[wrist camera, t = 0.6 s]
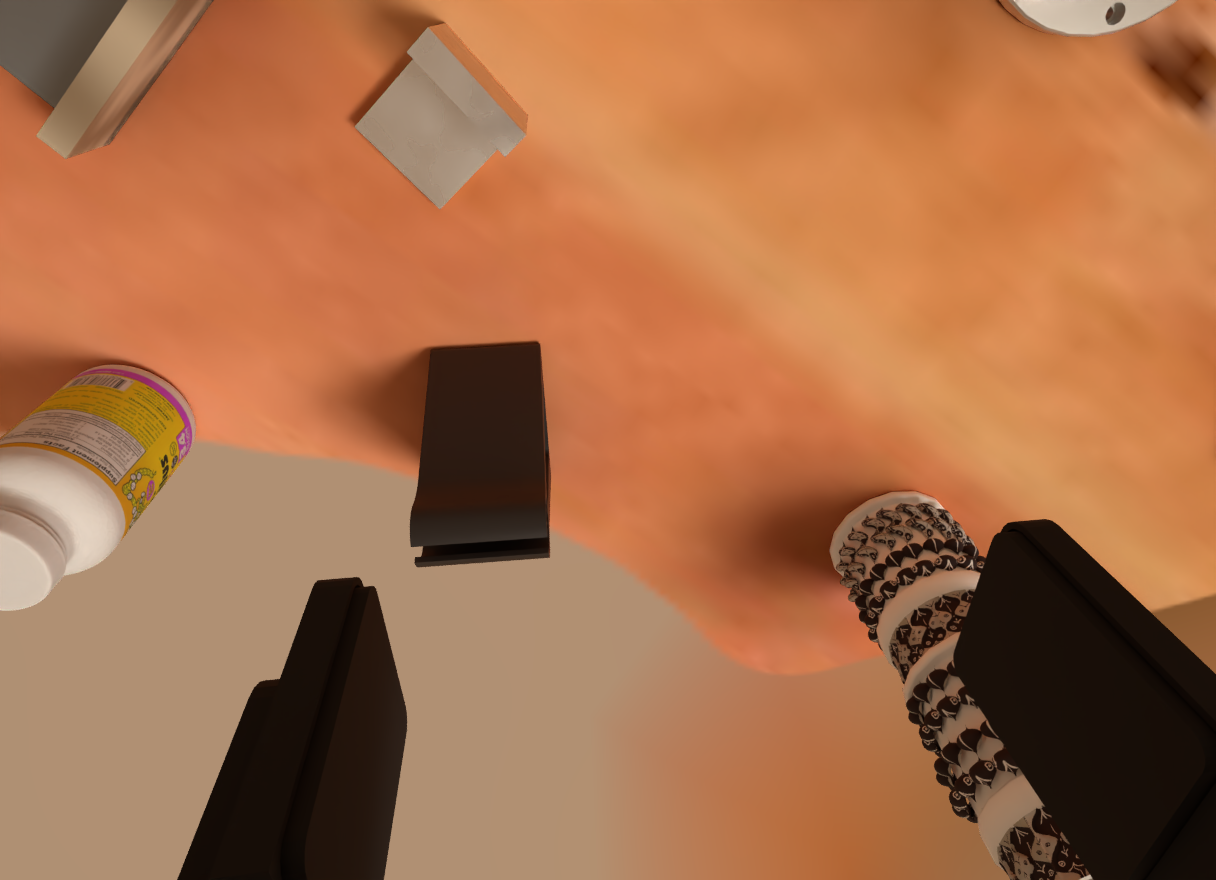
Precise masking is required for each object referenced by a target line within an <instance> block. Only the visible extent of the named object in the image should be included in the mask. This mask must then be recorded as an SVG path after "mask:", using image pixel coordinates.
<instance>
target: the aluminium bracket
mask: <svg viewBox="0 0 1216 880" xmlns="http://www.w3.org/2000/svg"><path fill="white" fill-rule="evenodd" d="M407 53H408V54H409V55H410V56H411V57H412V61H411V62H410V63H409V64H408V65H407V66H406V68H405V69H404V70H403V71H402V72H401V73H400V75H399V76H398V77H397V78H396V79H395V80H394V82H393V83H392V84H391V85H390V86H389V87H388V89H387V90H386V91H385V92H384V93H383V94H382V96H381V97H380V98H379V99H378V100H377V101H376V103H375V104H374V105H373V106H372V107H371V108H370V109H369V111H368V112H367V113H366V114H365V115H364V116H363V118H362V119H361V120H360V121H359V122H358V123H357V125H356V126H355V128H356V129H357V130H358V131H359V132H360V133H361V134H362V135H363V136H364V137H365V138H366V139H367V140H369V141H370V142H371V143H372V144H373V145H374V146H375V147H376V148H377V149H378V150H379V151H380V152H381V153H382V154H383V155H384V156H385V157H386V158H387V159H388V160H389V161H390V162H391V163H392V164H393V165H394V166H395V167H396V168H398V169H399V170H400V171H401V172H402V173H403V174H404V175H405V176H406V177H407V178H408V179H409V180H410V181H411V182H412V183H413V184H414V185H415V186H416V187H417V188H418V189H419V190H420V191H421V192H422V193H423V194H424V195H425V196H427V197H428V198H429V199H430V200H431V201H432V202H433V203H434V204H435V205H436V206H437V207H438V208H439V209H441V208H442V207H443V206H444V205H445V204H446V203H447V202H448V201H449V200H450V198H451V197H452V196H453V195H454V194H455V193H456V192H457V191H458V190H459V189H460V188H461V187H462V186H463V185H464V184H465V183H466V182H467V181H468V180H469V179H470V178H471V177H472V175H473V174H474V173H475V172H476V171H477V170H478V169H479V168H480V167H481V166H482V165H483V164H484V163H485V162H486V161H487V160H488V159H489V158H490V157H491V156H492V155H493V154H494V152H495V151H496V150H497V149H498V150H499V151H500V152H501V153H502V154H503V155H504V156H505V157H506V156H507V155H508V154H509V153H510V152H511V150H512V149H513V148H514V147H515V146H516V145H517V144H518V143H519V142H520V141H521V140H522V139H523V138H524V137H525V136H526V131H527V120H528V115H527V113H526V112H525V111H524V110H523V109H522V108H521V107H520V106H519V104H518V103H517V102H516V101H515V100H514V99H513V98H512V97H511V95H510V94H509V93H508V92H507V91H506V90H505V89H504V88H503V86H502V85H501V84H500V83H499V82H498V81H497V80H496V79H495V77H494V76H493V75H492V74H491V73H490V72H489V71H488V70H487V68H486V67H485V66H484V65H483V64H482V63H481V62H480V61H479V60H478V58H477V57H476V56H475V55H474V54H473V53H472V52H471V51H470V49H469V48H468V47H467V46H466V45H465V44H464V43H463V42H462V40H461V39H460V38H459V37H458V36H457V35H456V34H455V33H454V31H453V30H452V29H451V28H450V27H449V26H448V25H447V24H446V23H443V24H439V25H434V26H430V27H428V28H427V29H426V30H425V31H424V32H423V33H422V35H421V36H420V37H419V38H418V39H417V40H416V42H415V43H414V44H413V45H412V46H411V47H410V49H409V50H408V51H407Z"/></svg>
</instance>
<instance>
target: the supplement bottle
mask: <svg viewBox="0 0 1216 880" xmlns="http://www.w3.org/2000/svg"><path fill="white" fill-rule="evenodd" d="M195 435H196V424H195V419H194V415H193V412H192V410H191V408H190V406H189V404H188V403H187V401H186V400H185V399H184V397H183V396H182V395H181V394H180V393H179V392H178V391H177V390H176V389H175V388H174V387H173V386H172V385H171V384H169V383H168V382H166V381H165V380H163V379H161V378H160V377H158V376H156V375H154V374H152V373H150V372H148V371H145V370H142V369H139V368H136V367H132V366H126V365H102V366H97V367H93V368H90V369H88V370H85V371H83V372H81V373H80V374H78V375H77V376H76V377H74V378H73V379H72V380H70V381H69V382H68V383H67V384H65V385H64V386H63V387H62V388H61V389H60V390H58V391H57V392H56V393H54V394H53V395H52V396H51V397H50V398H48V399H47V400H46V401H45V402H44V403H42V404H41V405H40V406H39V407H37V408H36V409H35V410H34V411H33V412H31V413H30V414H29V415H28V416H26V417H25V418H24V419H23V420H21V421H20V422H19V423H18V424H17V425H15V426H14V427H13V428H12V429H10V430H9V431H8V432H7V433H6V434H4V435H3V436H2V437H1V438H0V610H4V611H8V610H19V609H24V608H27V607H30V606H33V605H35V604H37V603H39V602H40V601H42V600H43V599H44V598H45V597H46V596H47V595H48V594H49V593H50V591H51V590H52V589H53V588H54V587H55V585H56V584H57V583H58V582H59V581H60V580H61V579H62V577H63V576H64V575H70V574H74V573H77V572H81V571H84V570H86V569H89V568H91V567H93V566H95V565H97V564H98V563H100V562H102V561H103V560H104V559H105V558H107V557H108V556H109V555H110V554H111V553H112V551H113V550H114V549H115V548H116V546H117V545H118V544H119V543H120V541H121V540H122V539H123V537H124V536H125V535H126V533H127V532H128V531H129V529H130V528H131V527H132V526H133V524H134V523H135V522H136V520H137V519H138V518H139V516H140V515H141V514H142V513H143V511H144V510H145V509H146V508H147V506H148V505H149V504H150V502H151V501H152V500H153V498H154V497H155V496H156V495H157V494H158V492H159V491H160V489H161V488H162V487H163V486H164V485H165V483H166V482H167V480H168V479H169V478H170V477H171V475H172V474H173V473H174V471H175V470H176V469H177V467H178V466H179V465H180V463H181V462H182V461H183V459H184V458H185V457H186V455H187V454H188V452H189V451H190V449H191V447H192V445H193V443H194V440H195Z"/></svg>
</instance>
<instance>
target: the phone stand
mask: <svg viewBox="0 0 1216 880" xmlns="http://www.w3.org/2000/svg"><path fill="white" fill-rule="evenodd" d="M550 490H551V470H550V458H549V446H548V433H547V421H546V409H545V397H544V384H543V372H542V360H541V347H540V344H527V345H509V346H492V347H474V348H456V349H438V350H431V354H430V364H429V375H428V385H427V395H426V406H425V416H424V426H423V437H422V447H421V457H420V468H419V478H418V487H417V493H416V497H415V501H414V504H413V506H412V510H411V517H410V542H411V547H418V546H423V552H422V556H421V557H415V565H416V566H417V567H429V566H443V565H456V564H469V563H483V562H497V561H511V560H524V559H538V558H550V541H549V539H550V538H549V520H550Z"/></svg>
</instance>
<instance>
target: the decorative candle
mask: <svg viewBox="0 0 1216 880" xmlns="http://www.w3.org/2000/svg"><path fill="white" fill-rule="evenodd" d="M829 551H830V555H831V559H832V562H833V566H834V568H835V570H836V571H837V572H838V573H839V574H841V575H842V576H843V578H841V579H840V583H841V584H842V585H845V586H846V587H847V588H852V589H851V590H850V594H849V596H848V600H849V601H851V602H855V604H856V606H857V608H858V609H859V610H860V613H859V619H860V621H861V622H863V623H865V624H866V625H867V627H868V628H870V630H869V632H868V637H869V639H870V640H871V641H873V642H878V645H879V647H880V649H881V650H882V651H883V652H884V654H885V656H886V658H887V660H888V662H889V663H890V664H891V665H892V666H893V667H894V668H895V669H897V670H898V672H899V674H900V677H901V680H902V682H903V684H904V687H903V693H904V698H905V702H906V707H907V709H908V710H909V712H910V713H909V720H910V721H911V722H912V723H914V724H918V725H919V726H920V729H919V734H920V737H921V739H922V744H923V746H924V748H926V749H927V750H928V751H931V752H935V754H936V755H937V756H939V757H940V758H938V759H937V760H936V761H935V764H934V768H935V770H936V772H937V775H936V779H937V781H938V782H939V783H940V784H941V785H943V786H948V787H949V788H950V789H951V790H952V791H951V792H950V794H949V800H950V803H951V804H952V808H953V811H954V812H955V814H956V815H957V816H959V817H962V818H967V820H969V821H970V822H973V823H978V825H979V831H980V836H981V838H982V839H983V841H984V843H985V845H986V847H987V849H988V851H989V853H990V855H991V857H992V859H993V860H994V862H995V864H996V865H998V866H999V867H1000V868H1002V869H1003V870H1004V871H1005V872H1006V873H1007V874H1008V876H1009V878H1010V880H1093V878H1092V877H1091V875H1090V874H1089V872H1088V871H1087V869H1086V868H1085V866H1084V865H1083V863H1082V862H1081V860H1080V859H1079V857H1078V856H1077V854H1076V853H1075V851H1074V850H1073V848H1072V847H1071V845H1070V844H1069V842H1068V841H1067V839H1066V838H1065V836H1064V835H1063V833H1062V832H1061V830H1060V829H1059V827H1058V826H1057V824H1056V823H1055V821H1054V820H1053V818H1052V817H1051V815H1050V814H1049V812H1048V811H1047V809H1046V808H1045V806H1044V805H1043V803H1042V802H1041V800H1040V799H1039V797H1038V796H1037V794H1036V793H1035V791H1034V790H1033V788H1032V787H1031V785H1030V784H1029V782H1028V781H1027V779H1026V778H1025V776H1024V775H1023V773H1022V772H1021V770H1020V769H1019V767H1018V766H1017V764H1016V763H1015V761H1014V760H1013V758H1012V757H1011V755H1010V754H1009V752H1008V751H1007V749H1006V748H1005V746H1004V745H1003V743H1002V742H1001V740H1000V739H999V737H998V736H997V734H996V733H995V731H994V729H993V728H992V726H991V725H990V723H989V722H988V720H987V719H986V717H985V716H984V714H983V713H982V711H981V710H980V708H979V707H978V705H977V704H976V702H975V701H974V699H973V698H972V696H971V695H970V693H969V692H968V690H967V689H966V687H965V686H964V684H963V683H962V681H961V680H960V678H959V677H958V675H957V673H956V670H955V667H954V662H953V654H954V650H955V647H956V644H957V641H958V638H959V635H960V632H961V629H962V626H963V624H964V621H965V618H966V615H967V612H968V609H969V606H970V603H971V600H972V597H973V595H974V592H975V589H976V586H977V583H978V580H979V577H980V574H981V571H982V568H983V566H984V563H985V560H986V558H985V557H983V556H978V555H979V551H978V549H977V547H976V546H974V542H973V540H972V539H971V538H970V537H969V536H967V535H965V532H964V530H963V529H962V527H961V526H960V524H959V523H958V522H956V521H955V520H953V518H952V516H951V514H950V513H949V512H948V511H947V510H945V509H944V508H943V507H942V505H941V504H940V503H939V502H938V501H937V500H936V499H935V498H933V497H931V496H928V495H925V494H922V493H920V492H917V491H901V492H890V493H887V494H884V495H881V496H878V497H875V498H872V499H869V500H867V501H866V502H864V503H863V504H861V505H860V506H859V507H857V508H856V509H854V510H853V511H851V512H850V513H849V514H847V516H846V517H845V518H844V520H843V521H842V522H841V523H840V525H839V526H838V527H837V529H836V530H835V531H834V534H833V538H832V542H831V546H830V550H829ZM951 769H952V771H953V774H952V773H951ZM965 798H968V800H969V804H967V802H966V799H965Z"/></svg>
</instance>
